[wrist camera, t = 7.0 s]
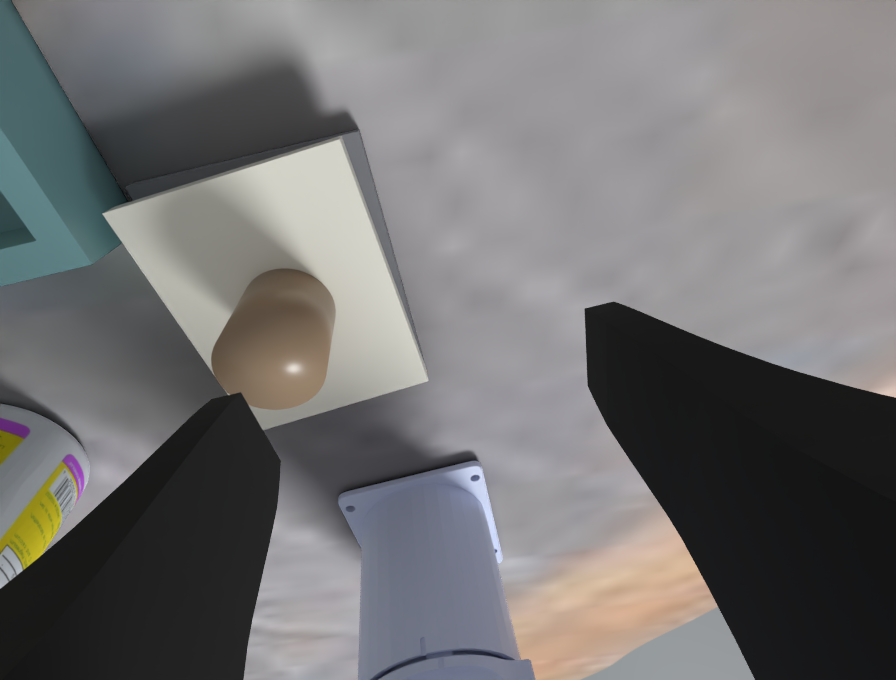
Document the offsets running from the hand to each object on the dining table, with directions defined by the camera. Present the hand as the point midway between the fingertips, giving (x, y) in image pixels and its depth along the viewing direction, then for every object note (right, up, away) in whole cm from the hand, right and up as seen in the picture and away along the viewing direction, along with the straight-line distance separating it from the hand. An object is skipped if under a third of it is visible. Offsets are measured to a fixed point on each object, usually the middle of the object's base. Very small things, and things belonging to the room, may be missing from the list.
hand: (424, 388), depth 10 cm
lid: (-5, +2, +7) cm, 9 cm away
